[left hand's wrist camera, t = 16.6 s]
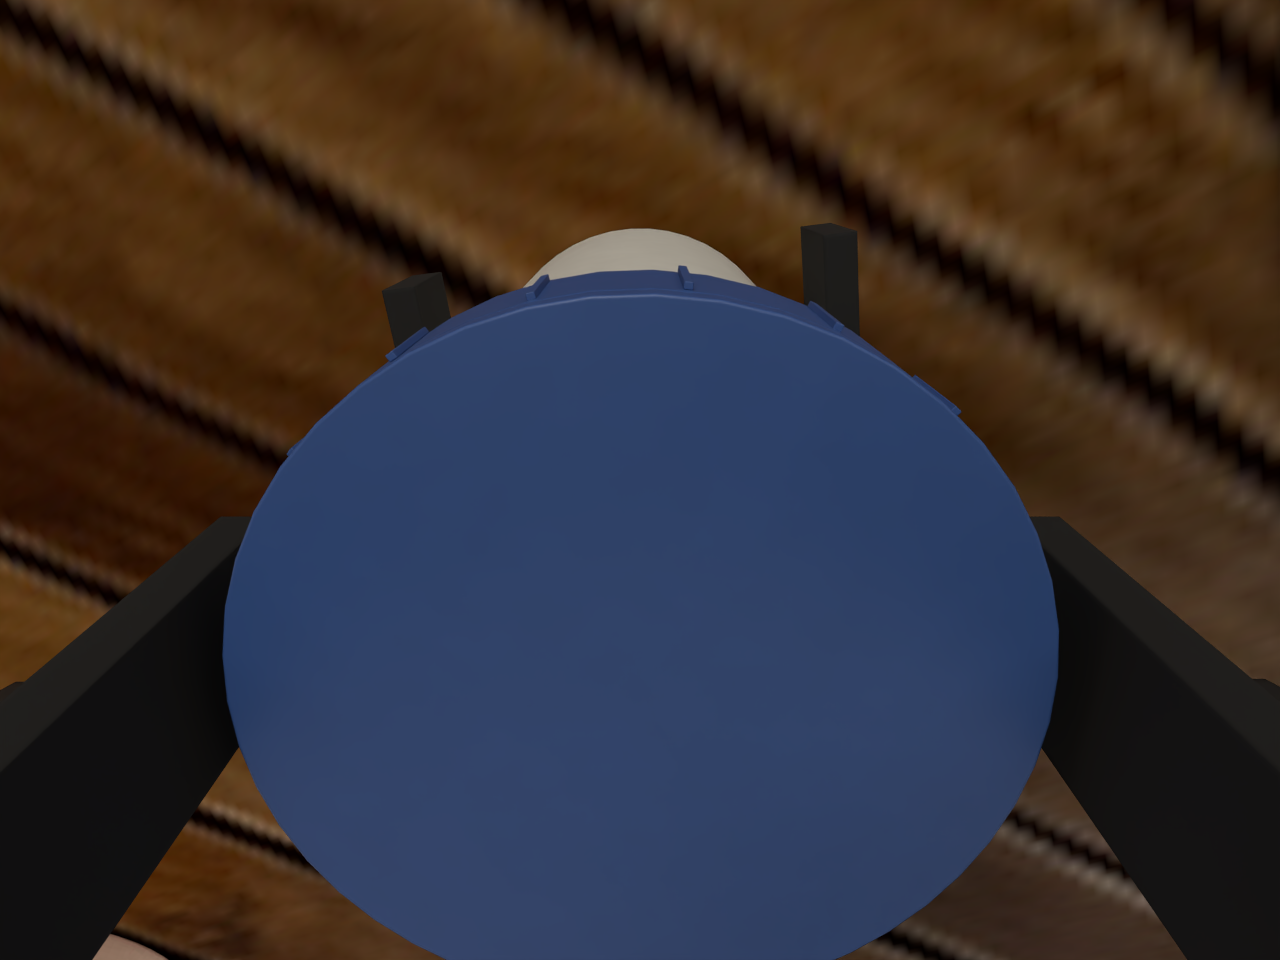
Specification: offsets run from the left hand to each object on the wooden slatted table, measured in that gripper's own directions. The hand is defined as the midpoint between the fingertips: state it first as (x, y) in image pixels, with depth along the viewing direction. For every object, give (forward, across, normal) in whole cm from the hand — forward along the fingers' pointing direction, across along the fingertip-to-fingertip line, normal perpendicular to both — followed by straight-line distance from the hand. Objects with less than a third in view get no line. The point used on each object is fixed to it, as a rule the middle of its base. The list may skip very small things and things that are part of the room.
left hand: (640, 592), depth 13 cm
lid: (-3, 0, 0) cm, 3 cm away
